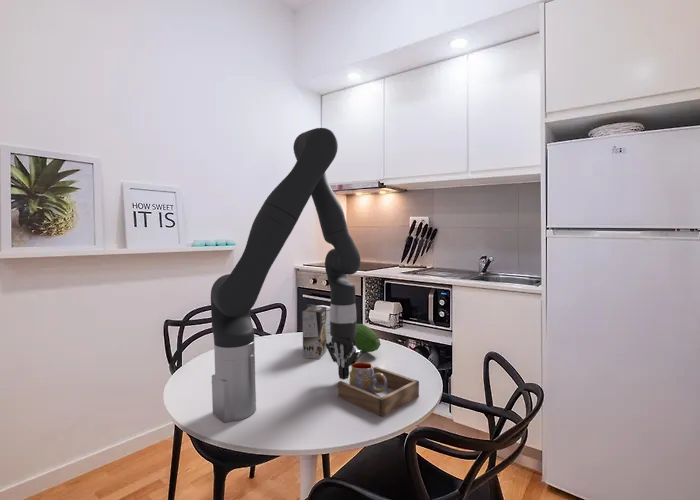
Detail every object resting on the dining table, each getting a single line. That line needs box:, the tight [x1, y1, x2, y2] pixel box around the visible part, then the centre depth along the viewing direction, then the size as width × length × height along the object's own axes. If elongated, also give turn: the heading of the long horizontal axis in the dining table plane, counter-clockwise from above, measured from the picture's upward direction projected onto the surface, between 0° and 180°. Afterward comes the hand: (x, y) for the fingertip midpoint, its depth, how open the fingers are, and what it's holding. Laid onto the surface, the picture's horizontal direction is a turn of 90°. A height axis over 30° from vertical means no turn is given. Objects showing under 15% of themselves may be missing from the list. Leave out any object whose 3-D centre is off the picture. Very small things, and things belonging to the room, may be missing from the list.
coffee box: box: [302, 306, 328, 360], centre depth 132 cm, size 9×6×16 cm
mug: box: [348, 362, 388, 394], centre depth 102 cm, size 12×7×7 cm, turn 46°
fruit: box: [355, 323, 381, 354], centre depth 133 cm, size 15×10×10 cm, turn 41°
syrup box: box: [315, 304, 332, 343], centre depth 143 cm, size 6×6×14 cm
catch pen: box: [337, 366, 420, 417], centre depth 99 cm, size 15×15×4 cm
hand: (343, 378), depth 108 cm, fingers closed
